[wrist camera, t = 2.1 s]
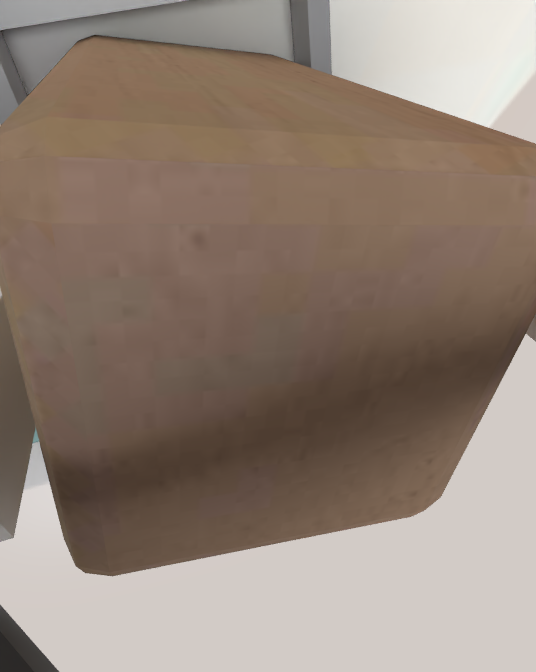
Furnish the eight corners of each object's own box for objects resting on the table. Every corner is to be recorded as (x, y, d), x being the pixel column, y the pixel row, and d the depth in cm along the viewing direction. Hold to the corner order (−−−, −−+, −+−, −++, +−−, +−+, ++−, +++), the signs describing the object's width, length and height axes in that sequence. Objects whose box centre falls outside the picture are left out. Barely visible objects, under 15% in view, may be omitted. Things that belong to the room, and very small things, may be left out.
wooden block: (264, 240, 29) (443, 525, 13) (95, 241, 26) (66, 605, 10) (285, 54, 23) (643, 167, 7) (71, 30, 20) (-72, 129, 5)
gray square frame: (93, 304, 28) (91, 326, 26) (-37, 4, 19) (-54, 4, 17) (323, 247, 30) (337, 264, 28) (307, -48, 21) (327, -53, 19)
